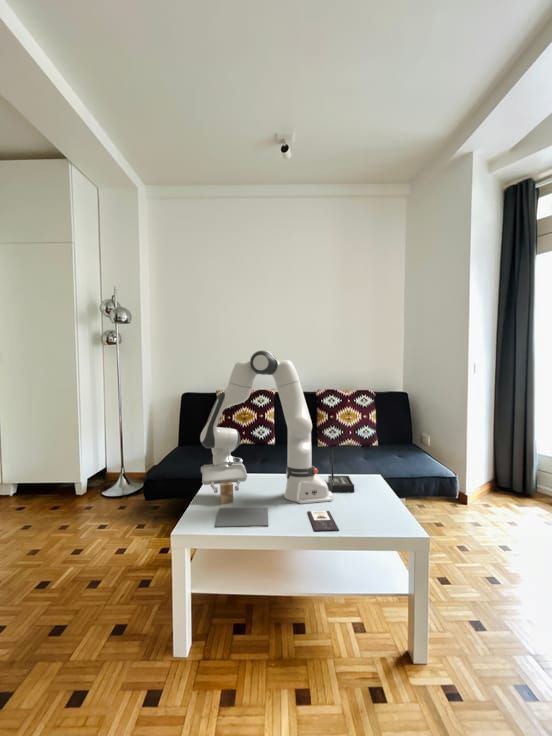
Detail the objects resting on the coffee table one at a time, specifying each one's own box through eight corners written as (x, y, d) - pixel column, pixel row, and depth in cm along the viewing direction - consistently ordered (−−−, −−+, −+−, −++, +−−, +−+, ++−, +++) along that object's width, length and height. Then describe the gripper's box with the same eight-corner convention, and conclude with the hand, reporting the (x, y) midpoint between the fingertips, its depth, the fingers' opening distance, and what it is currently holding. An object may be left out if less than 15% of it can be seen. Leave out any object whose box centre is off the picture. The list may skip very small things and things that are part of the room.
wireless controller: (357, 493, 183) (357, 457, 183) (328, 493, 183) (328, 457, 183) (350, 480, 203) (350, 448, 203) (324, 480, 203) (324, 448, 203)
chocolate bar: (314, 530, 140) (307, 511, 158) (314, 532, 140) (307, 513, 158) (338, 529, 141) (329, 510, 159) (338, 532, 141) (329, 513, 159)
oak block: (231, 499, 174) (231, 481, 173) (233, 502, 170) (233, 484, 170) (220, 500, 172) (220, 482, 172) (221, 503, 168) (221, 485, 168)
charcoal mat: (267, 508, 163) (267, 507, 163) (268, 526, 145) (268, 525, 145) (220, 509, 162) (219, 508, 162) (214, 527, 144) (214, 525, 144)
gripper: (200, 461, 175) (203, 489, 165) (245, 458, 181) (249, 485, 171) (199, 468, 179) (202, 496, 170) (243, 465, 185) (247, 492, 176)
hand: (226, 491), depth 171 cm, fingers open, 8 cm apart
